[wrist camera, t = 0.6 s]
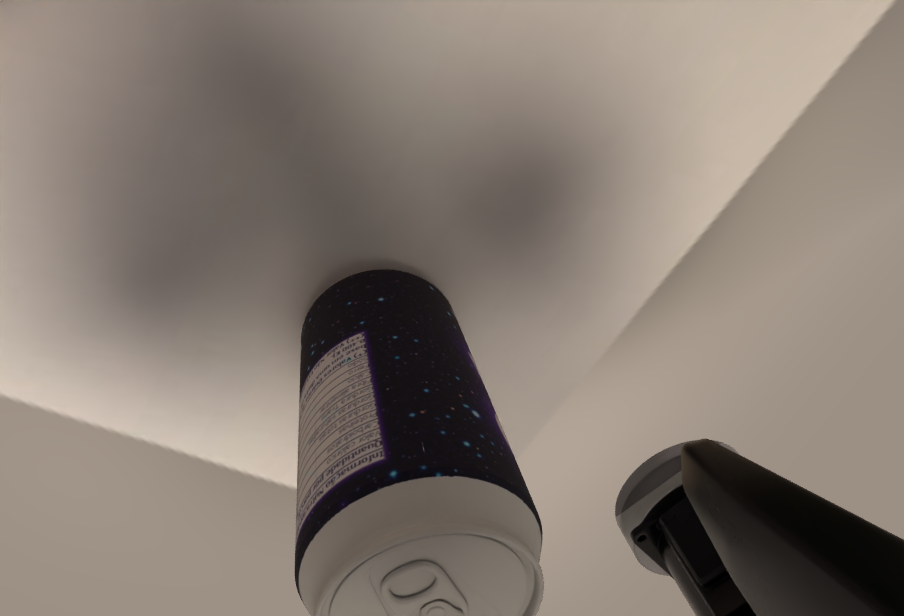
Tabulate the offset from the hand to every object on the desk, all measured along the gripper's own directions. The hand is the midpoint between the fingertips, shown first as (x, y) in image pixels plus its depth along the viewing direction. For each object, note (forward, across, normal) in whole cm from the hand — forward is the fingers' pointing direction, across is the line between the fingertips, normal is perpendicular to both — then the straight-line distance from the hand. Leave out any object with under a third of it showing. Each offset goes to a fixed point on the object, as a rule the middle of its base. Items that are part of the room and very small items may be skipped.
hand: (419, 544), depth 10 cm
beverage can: (+14, 0, +4) cm, 14 cm away
